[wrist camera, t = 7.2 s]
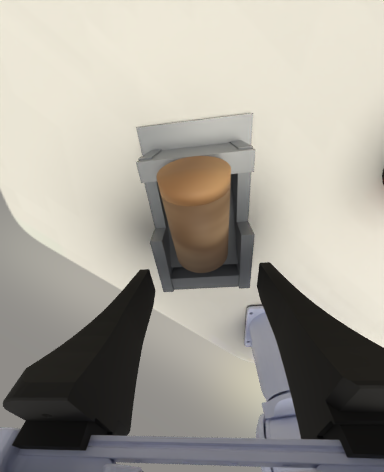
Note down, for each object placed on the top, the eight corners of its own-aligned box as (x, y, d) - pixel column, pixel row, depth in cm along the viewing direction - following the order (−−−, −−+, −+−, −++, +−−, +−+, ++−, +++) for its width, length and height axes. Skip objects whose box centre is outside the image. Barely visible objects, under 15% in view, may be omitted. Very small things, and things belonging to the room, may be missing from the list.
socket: (243, 255, 20) (258, 301, 15) (167, 259, 21) (158, 305, 16) (251, 113, 13) (283, 109, 8) (138, 127, 14) (103, 131, 9)
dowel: (225, 233, 14) (227, 153, 10) (230, 272, 12) (235, 186, 7) (179, 235, 15) (162, 159, 10) (174, 273, 12) (149, 193, 8)
